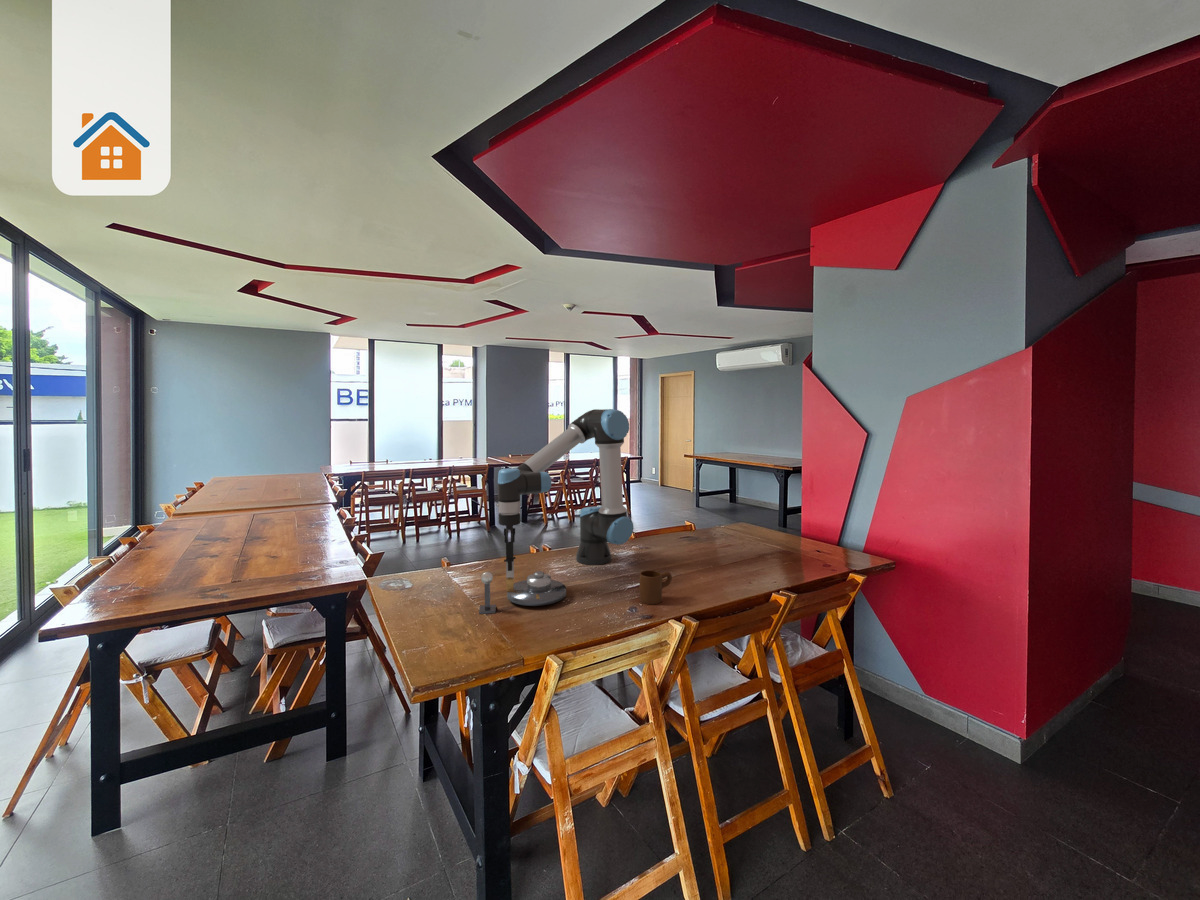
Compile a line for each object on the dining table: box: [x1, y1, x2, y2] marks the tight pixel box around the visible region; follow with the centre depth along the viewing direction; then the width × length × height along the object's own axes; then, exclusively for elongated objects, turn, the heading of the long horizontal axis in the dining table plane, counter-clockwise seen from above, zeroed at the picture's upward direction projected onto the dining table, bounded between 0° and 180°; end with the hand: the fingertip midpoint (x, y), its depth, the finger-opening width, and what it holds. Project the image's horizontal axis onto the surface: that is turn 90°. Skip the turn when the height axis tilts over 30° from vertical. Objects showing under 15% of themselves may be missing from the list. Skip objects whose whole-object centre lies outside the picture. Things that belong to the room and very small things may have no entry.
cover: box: [526, 570, 552, 593], centre depth 168 cm, size 8×8×6 cm
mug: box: [638, 569, 673, 605], centre depth 166 cm, size 12×8×9 cm, turn 114°
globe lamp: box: [478, 571, 497, 615], centre depth 157 cm, size 5×5×13 cm
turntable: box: [505, 576, 567, 607], centre depth 168 cm, size 20×20×6 cm
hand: (510, 578), depth 173 cm, fingers closed
